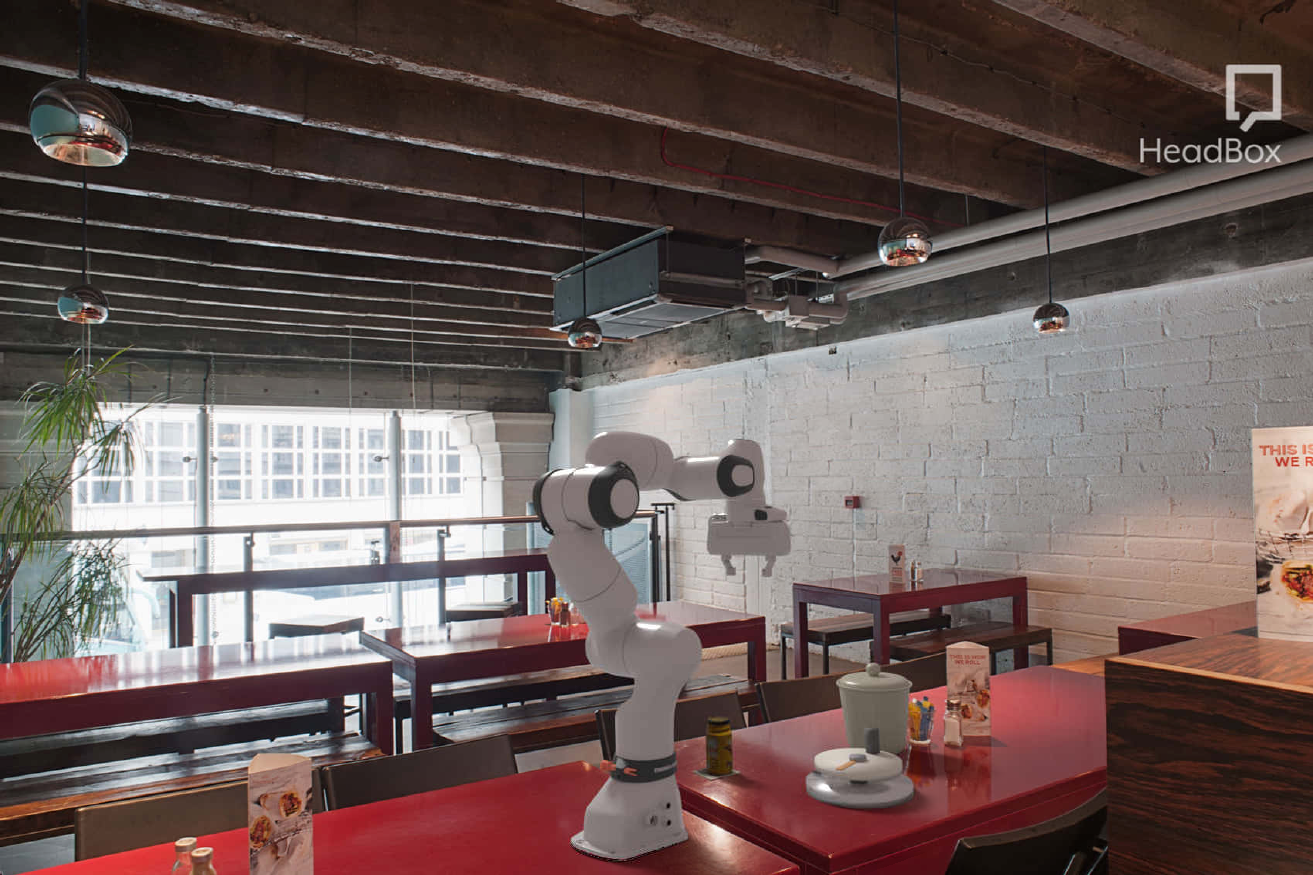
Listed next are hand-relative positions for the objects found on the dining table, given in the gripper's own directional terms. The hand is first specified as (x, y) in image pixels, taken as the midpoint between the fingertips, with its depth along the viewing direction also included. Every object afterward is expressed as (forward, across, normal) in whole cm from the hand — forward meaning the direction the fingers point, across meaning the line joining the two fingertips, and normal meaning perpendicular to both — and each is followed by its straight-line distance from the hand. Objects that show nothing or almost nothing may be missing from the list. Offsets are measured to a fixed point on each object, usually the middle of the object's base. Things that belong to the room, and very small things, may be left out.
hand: (748, 576), depth 192 cm
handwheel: (+40, +19, +9) cm, 46 cm away
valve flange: (+45, +19, +9) cm, 50 cm away
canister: (+46, +10, +38) cm, 60 cm away
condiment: (+45, -13, +2) cm, 47 cm away
